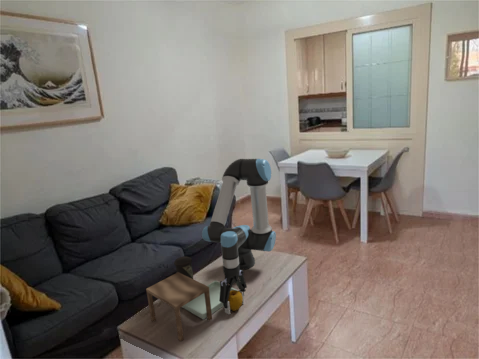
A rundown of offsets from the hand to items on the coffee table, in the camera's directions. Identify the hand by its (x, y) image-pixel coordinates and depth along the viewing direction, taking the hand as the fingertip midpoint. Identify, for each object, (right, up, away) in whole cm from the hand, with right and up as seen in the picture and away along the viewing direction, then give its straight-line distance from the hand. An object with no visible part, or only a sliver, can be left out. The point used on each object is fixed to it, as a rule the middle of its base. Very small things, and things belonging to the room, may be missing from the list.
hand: (234, 308), depth 158 cm
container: (-25, +1, +15) cm, 29 cm away
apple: (0, 0, 0) cm, 0 cm away
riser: (-24, -3, -5) cm, 25 cm away
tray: (-12, +1, +7) cm, 14 cm away
